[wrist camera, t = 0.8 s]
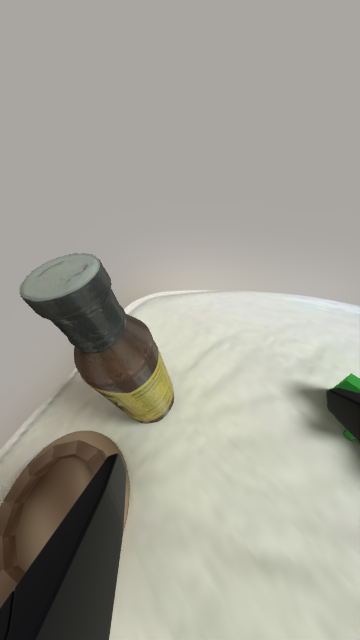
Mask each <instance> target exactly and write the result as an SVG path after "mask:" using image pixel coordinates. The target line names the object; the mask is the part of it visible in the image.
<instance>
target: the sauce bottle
mask: <svg viewBox="0 0 360 640" xmlns="http://www.w3.org/2000/svg"><path fill="white" fill-rule="evenodd" d="M20 295H21V297H22V298H23V300H24V301H25V302H26V303H27V304H28V305H29V306H30V307H31V308H32V309H33V310H34V311H35V312H36V313H37V314H39V315H40V316H41V317H43V318H46V319H49V320H51V321H52V322H53V323H54V324H55V325H56V326H57V327H58V328H59V329H60V330H61V331H62V332H63V333H64V334H65V335H66V336H67V337H68V340H69V341H70V343H71V344H73V345H74V346H75V348H74V359H75V365H76V367H77V369H78V371H79V373H80V374H81V377H82V378H83V379H84V381H85V382H86V383H87V384H89V385H90V386H91V387H92V388H94V389H95V390H96V391H98V392H99V393H100V394H102V395H103V396H104V397H106V398H107V399H108V400H110V401H111V402H112V403H113V404H115V405H116V406H117V407H119V408H120V409H121V410H123V411H124V412H125V413H126V414H128V415H129V416H130V417H132V418H133V419H135V420H137V421H139V422H141V423H153V422H158V421H160V420H161V419H163V418H164V417H165V416H166V415H167V413H168V412H169V411H170V409H171V407H172V405H173V402H174V393H173V386H172V383H171V380H170V377H169V375H168V372H167V370H166V367H165V365H164V362H163V360H162V357H161V354H160V352H159V349H158V347H157V346H156V343H155V342H154V340H153V337H152V335H151V333H150V331H149V329H148V327H147V326H146V325H145V324H144V323H143V322H142V321H140V320H138V319H136V318H134V317H132V316H130V315H127V314H125V312H124V309H123V308H122V307H121V306H120V305H119V303H118V301H117V299H116V297H115V295H114V293H113V292H112V289H111V279H110V277H109V275H108V273H107V272H106V270H105V269H104V267H103V265H102V263H101V262H100V260H99V259H98V258H97V257H95V256H94V255H92V254H85V253H82V254H77V253H76V254H69V255H65V256H62V257H59V258H56V259H53V260H51V261H49V262H46V263H45V264H43V265H41V266H40V267H38V268H36V269H35V270H33V271H32V272H31V273H30V275H28V276H27V277H26V278H25V280H24V281H23V282H22V284H21V286H20Z"/></svg>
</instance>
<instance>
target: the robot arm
mask: <svg viewBox="0 0 360 640" xmlns="http://www.w3.org/2000/svg"><path fill="white" fill-rule="evenodd" d="M326 396H327V407H328V409H329V411H330V412H331V413H332V414H333V415H334V416H335V417H336V418H337V420H338V421H339V422H340V423H341V424H342V425H343V426H344V427H345V428H346V429H347V430H348V431H349V432H350V433H351V435H352V436H353V437H354V438H355V439H356V440H357V441H358V442H359V443H360V393H357V392H354V391H350V390H346V389H342V388H338V387H335V388H331V389H328V390H327V392H326ZM125 492H126V468H125V465H124V463H123V460H122V458H121V455H120V454H119V453H115V454H112V455H109V456H108V457H107V458H106V460H105V461H104V462H103V464H102V465H101V467H100V468H99V469H98V471H97V472H96V474H95V475H94V476H93V478H92V479H91V481H90V482H89V484H88V485H87V486H86V488H85V489H84V491H83V492H82V493H81V495H80V496H79V498H78V499H77V500H76V502H75V503H74V505H73V506H72V507H71V509H70V510H69V512H68V513H67V515H66V516H65V517H64V519H63V520H62V522H61V523H60V524H59V526H58V527H57V529H56V530H55V531H54V533H53V534H52V536H51V537H50V538H49V540H48V541H47V543H46V544H45V546H44V547H43V548H42V550H41V551H40V553H39V554H38V555H37V557H36V558H35V560H34V561H33V562H32V564H31V565H30V567H29V568H28V569H27V571H26V572H25V574H24V575H23V577H22V578H21V579H20V581H19V582H18V584H17V585H16V587H15V590H14V591H12V592H11V593H10V595H9V596H8V597H7V599H6V600H5V602H4V603H3V605H2V606H1V607H0V640H109V635H110V628H111V620H112V613H113V605H114V597H115V590H116V582H117V574H118V567H119V559H120V552H121V544H122V536H123V528H124V512H125Z"/></svg>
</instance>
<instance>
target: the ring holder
mask: <svg viewBox="0 0 360 640" xmlns="http://www.w3.org/2000/svg"><path fill="white" fill-rule="evenodd" d="M115 453H119V454H120V455H121V458H122V460H123V463H124V465H125V468H126V492H125V512H124V527H125V523H126V519H127V513H128V506H129V477H128V470H127V467H126V463H125V460H124V458H123V455H122V453H121V451H120V450H119V448H118V447H117V446H116V444H115V443H114V442H113V441H112V440H111V439H109V438H108V437H106V436H104V435H102V434H100V433H97V432H93V431H79V432H74V433H71V434H68V435H66V436H63V437H61V438H59V439H58V440H56V441H54V442H53V443H51V444H50V445H49V446H47V447H46V448H45V449H44V450H42V451H41V452H40V453H39V454H38V455H37V456H36V457H35V458H34V459H33V460H32V461H31V462H30V463H29V464H28V466H27V467H26V468H25V469H24V470H23V472H22V473H21V474H20V476H19V477H18V478H17V480H16V482H15V483H14V485H13V486H12V488H11V489H10V491H9V493H8V495H7V496H6V497H5V499H4V500H3V501H4V502H3V503H2V504H1V507H0V607H1V606H2V605H3V603H4V602H5V600H6V599H7V597H8V596H9V595H10V593H11V592H12V591H14V590H15V587H16V585H17V584H18V582H19V581H20V579H21V578H22V577H23V575H24V574H25V572H26V571H27V569H28V568H29V567H30V565H31V564H32V562H33V561H34V560H35V558H36V557H37V555H38V554H39V553H40V551H41V550H42V548H43V547H44V546H45V544H46V543H47V541H48V540H49V538H50V537H51V536H52V534H53V533H54V531H55V530H56V529H57V527H58V526H59V524H60V523H61V522H62V520H63V519H64V517H65V516H66V515H67V513H68V512H69V510H70V509H71V507H72V506H73V505H74V503H75V502H76V500H77V499H78V498H79V496H80V495H81V493H82V492H83V491H84V489H85V488H86V486H87V485H88V484H89V482H90V481H91V479H92V478H93V476H94V475H95V474H96V472H97V471H98V469H99V468H100V467H101V465H102V464H103V462H104V461H105V460H106V458H107V457H108V456H109V455H112V454H115ZM123 531H124V528H123Z"/></svg>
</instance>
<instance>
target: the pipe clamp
mask: <svg viewBox="0 0 360 640" xmlns="http://www.w3.org/2000/svg"><path fill="white" fill-rule="evenodd" d="M335 387H338V388H342V389H346V390H350V391H354V392H357V393H360V379H359V378H358V377H356V376H355V375H353V374H350V375H349V376H348V377H347V378H345V379H344V380H343V381H341V382H340V383H339V384H338V385H336V386H335ZM335 387H334V388H335ZM343 434H344V435H345V436H346V437H347V438H349V439H350V440H354V439H355V438H354V437H353V436H352V435H351V433H350V432H349V431H348V430H347V429H346V430H345V431H344V433H343Z"/></svg>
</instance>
